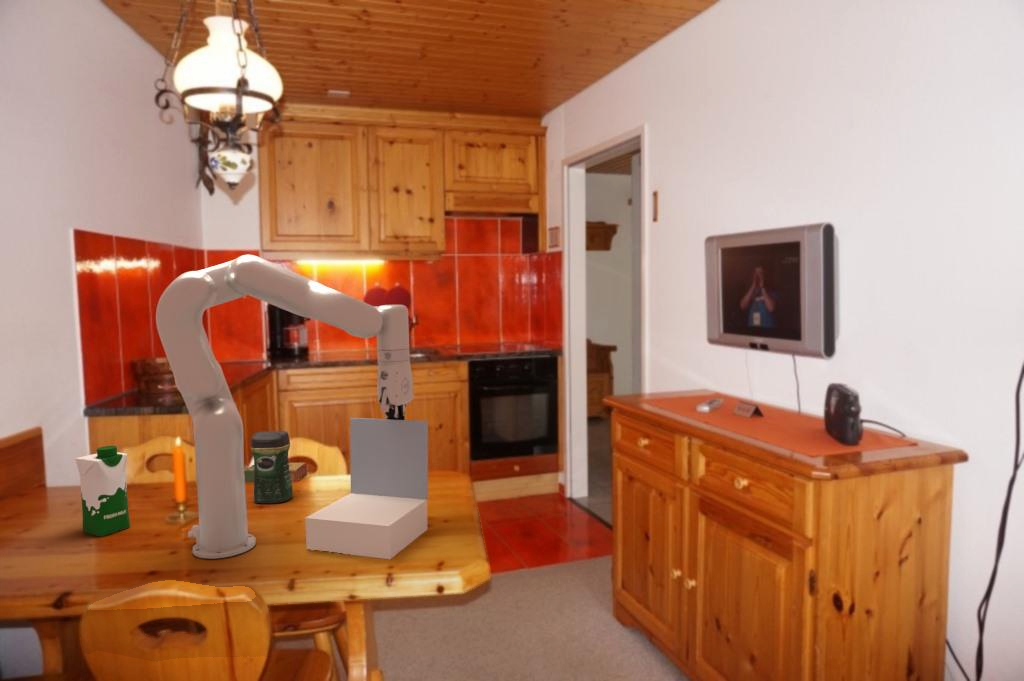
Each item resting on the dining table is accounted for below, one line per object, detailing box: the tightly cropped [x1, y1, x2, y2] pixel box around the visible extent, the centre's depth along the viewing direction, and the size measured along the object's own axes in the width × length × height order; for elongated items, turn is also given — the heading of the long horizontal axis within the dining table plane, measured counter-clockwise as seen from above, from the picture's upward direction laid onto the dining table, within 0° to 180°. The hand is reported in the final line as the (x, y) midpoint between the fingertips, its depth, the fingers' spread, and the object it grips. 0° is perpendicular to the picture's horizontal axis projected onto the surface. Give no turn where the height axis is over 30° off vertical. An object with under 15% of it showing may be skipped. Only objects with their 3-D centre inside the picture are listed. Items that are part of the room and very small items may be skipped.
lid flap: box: [349, 417, 429, 501], centre depth 160 cm, size 20×18×4 cm
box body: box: [304, 492, 428, 560], centre depth 150 cm, size 20×18×7 cm
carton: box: [244, 462, 308, 483], centre depth 201 cm, size 8×16×4 cm, turn 86°
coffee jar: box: [250, 430, 294, 504], centre depth 180 cm, size 10×8×19 cm
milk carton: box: [75, 445, 131, 538], centre depth 158 cm, size 9×9×20 cm
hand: (396, 432), depth 161 cm, fingers closed
